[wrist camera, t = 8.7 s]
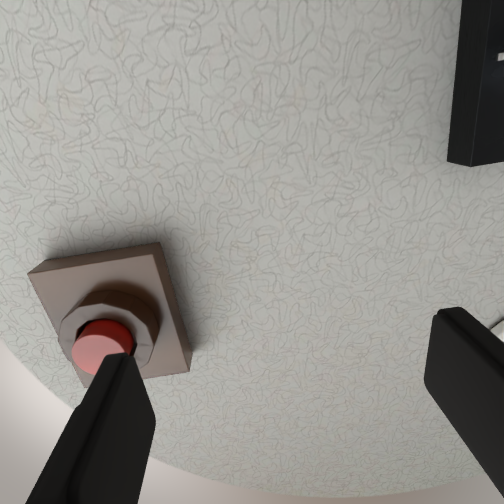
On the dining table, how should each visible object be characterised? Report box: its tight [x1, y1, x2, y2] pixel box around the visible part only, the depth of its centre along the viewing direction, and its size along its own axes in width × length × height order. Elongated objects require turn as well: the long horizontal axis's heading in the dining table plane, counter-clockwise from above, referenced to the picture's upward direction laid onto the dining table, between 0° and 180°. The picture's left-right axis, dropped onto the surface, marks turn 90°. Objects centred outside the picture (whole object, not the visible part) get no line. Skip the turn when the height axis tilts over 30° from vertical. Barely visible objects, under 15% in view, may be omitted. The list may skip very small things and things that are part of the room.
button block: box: [27, 242, 192, 388], centre depth 24 cm, size 11×9×4 cm
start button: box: [72, 319, 134, 375], centre depth 22 cm, size 4×4×2 cm
